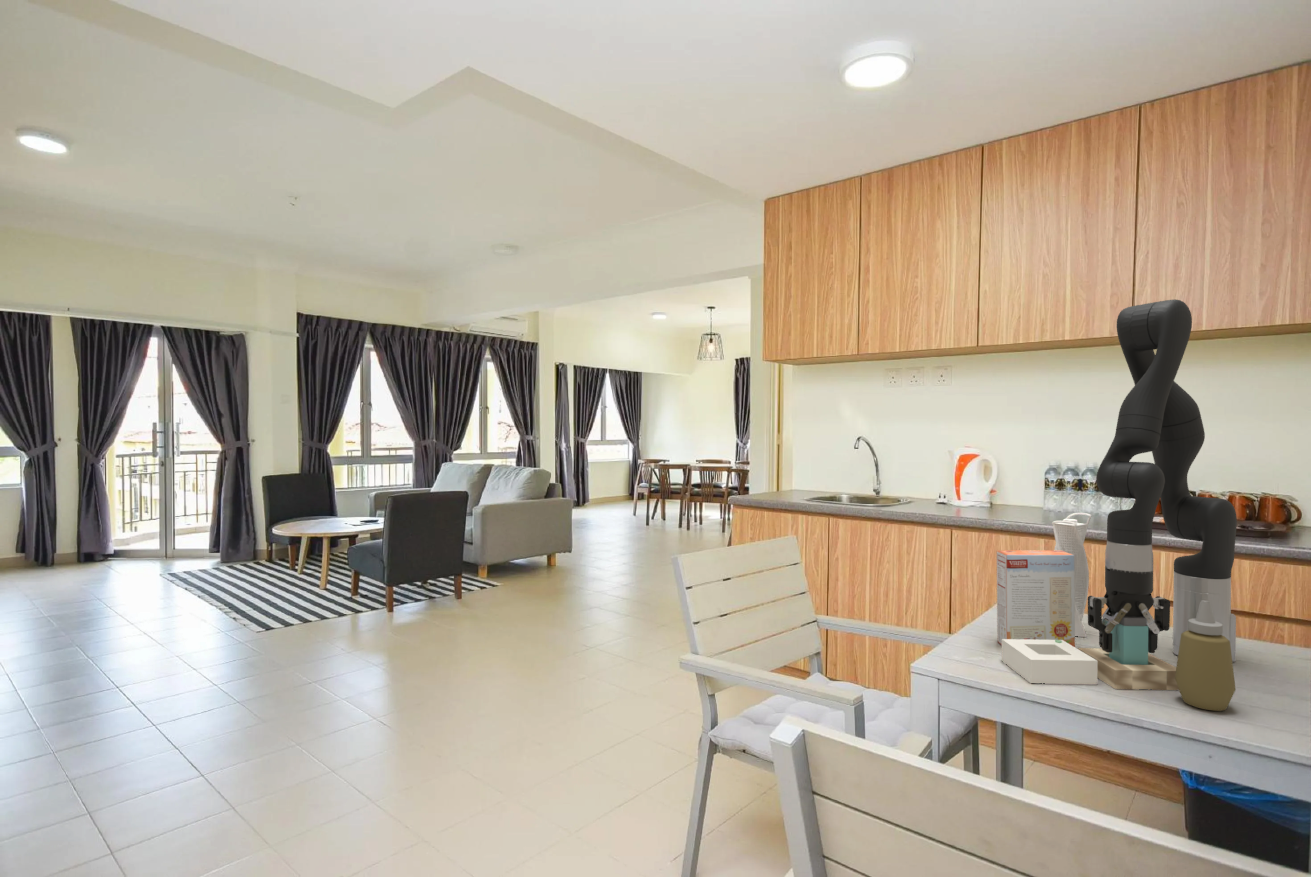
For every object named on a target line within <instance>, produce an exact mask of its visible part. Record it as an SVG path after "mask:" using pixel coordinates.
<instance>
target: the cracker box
mask: <svg viewBox="0 0 1311 877" xmlns="http://www.w3.org/2000/svg"><path fill="white" fill-rule="evenodd" d="M996 622H997V625H996V627H997V628H996V632H997V635H996V636H997V640H996V641H997V643H998V644H999V645H1001V646H1002V639H1034V640H1063V641H1065V642H1067V643H1068V644H1070V645H1072V646H1073V647H1075V648H1076V640H1075V639H1076V637H1075V587H1074V555H1072V554H1070V553H1067V552H1064V551H1062V550H1055V551H1054V549H1053V550H1052V549H1051V550H1050V549H1049V550H1047V549H1046V550H1042V549H1041V550H1038V549H1036V550H1034V549H1031V550H1030V549H1021V550H1019V549H1018V550H1017V549H1012V550H1011V549H1009V550H1008V549H1007V550H1005V549H1004V550H1002V549H997V550H996Z"/></svg>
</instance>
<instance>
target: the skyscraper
mask: <svg viewBox="0 0 1311 877" xmlns="http://www.w3.org/2000/svg"><path fill="white" fill-rule="evenodd" d="M1079 515H1080V516H1081V515H1082V516H1087V517H1088V518H1087V520H1086V523H1082V522H1081V523H1080V522H1078V519H1074V518H1071V517H1073V516H1079ZM1091 518H1092V514H1090V513H1087V512H1074V513H1070V514H1069V515H1067V516H1066V517H1065V518H1064V519H1062V520H1054V521H1052V522H1051V526H1052V530H1053V536H1054V540H1055V546H1054V549H1053V550H1054V551H1055V550H1062V551H1064V552H1067V553H1070V554H1072V555H1074V587H1075V636H1078V637H1077V638H1087V637H1088V635H1087V632H1086V631H1085V630H1086V629H1085V628H1084V627H1085V626H1084V624H1083V622H1082V621H1083V618H1084V614H1085V611H1086V610H1085V609H1086V605H1087V602H1088V596H1089V585H1090V571H1089V561H1088V556H1087V552H1086V550H1085V545H1084V544H1085V539H1086V535H1087V531H1088V527H1089V524H1090V521H1091Z"/></svg>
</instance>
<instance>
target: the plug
mask: <svg viewBox="0 0 1311 877" xmlns="http://www.w3.org/2000/svg"><path fill="white" fill-rule="evenodd" d="M1113 616H1114V615H1112V617H1113ZM1111 633H1112V652H1109V657H1110V658H1111V659H1113V660H1115V661H1117V662H1118V663H1120V664H1122V665H1148V653H1149V652H1148V626H1147V618H1144V617H1123V619H1122V620H1121V621H1120V623H1119V624H1117V625H1115V627H1114V628H1113V630H1112V631H1111Z"/></svg>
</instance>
